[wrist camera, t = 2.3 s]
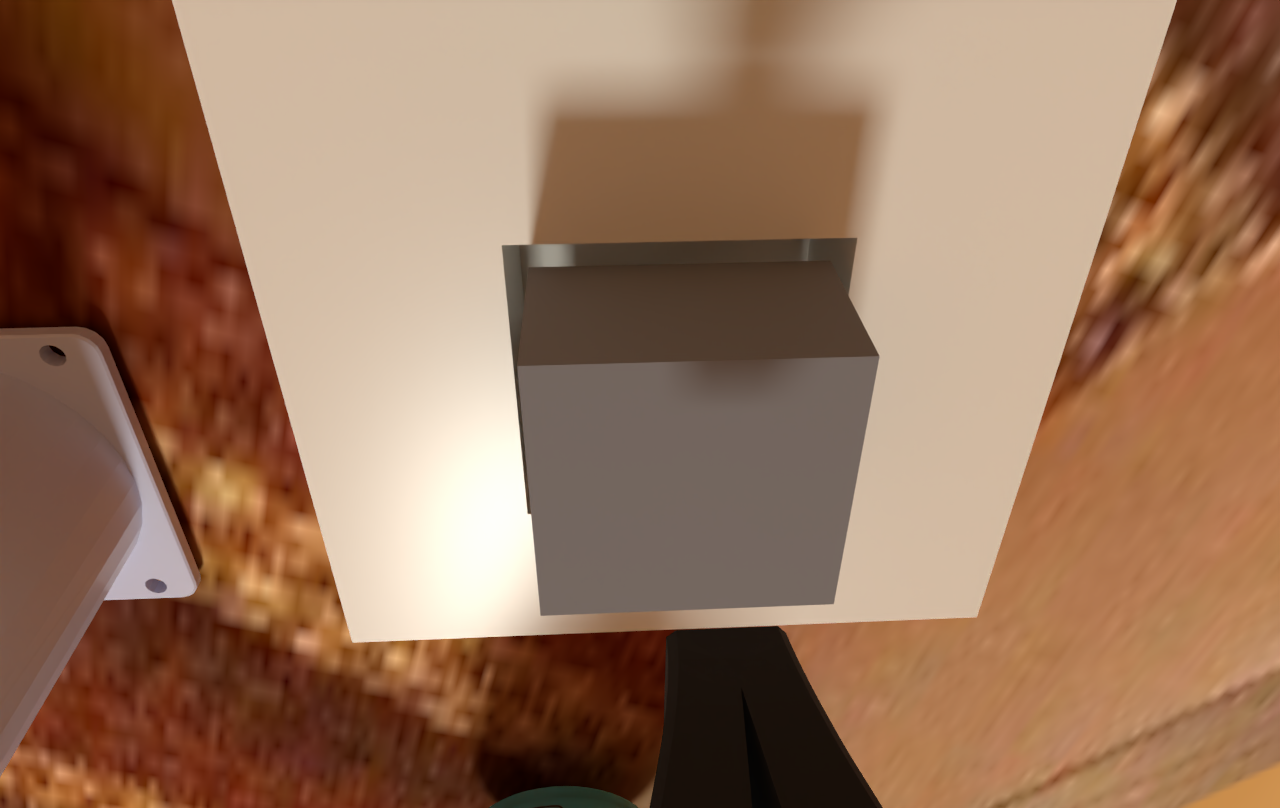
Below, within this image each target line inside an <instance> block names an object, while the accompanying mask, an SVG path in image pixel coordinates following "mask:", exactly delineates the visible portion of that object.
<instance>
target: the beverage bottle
mask: <svg viewBox="0 0 1280 808" xmlns="http://www.w3.org/2000/svg"><path fill="white" fill-rule="evenodd" d="M489 808H638V807H637V806H636V805H634V804H633V803H631V802H630V801H628V800H626V799H624V798H622V797H621V796H618V795H615V794H613V793H610V792H606V791H603V790H599V789H593V788H587V787H579V786H554V787H545V788H538V789H533V790H528V791H525V792H521V793H518V794H515V795H512V796H509V797H507V798H505V799H503V800H501V801H499V802H497V803H495V804H494V805H492V806H491V807H489Z"/></svg>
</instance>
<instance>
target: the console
mask: <svg viewBox="0 0 1280 808" xmlns="http://www.w3.org/2000/svg"><path fill="white" fill-rule="evenodd" d="M1176 1H1177V0H172V2H173V6H174V9H175V13H176V16H177V20H178V23H179V27H180V31H181V34H182V38H183V41H184V45H185V48H186V52H187V55H188V59H189V63H190V66H191V70H192V73H193V77H194V80H195V84H196V88H197V91H198V95H199V98H200V102H201V105H202V109H203V112H204V116H205V120H206V123H207V127H208V130H209V134H210V137H211V141H212V144H213V148H214V152H215V155H216V159H217V162H218V166H219V169H220V173H221V177H222V180H223V184H224V187H225V191H226V194H227V198H228V201H229V205H230V209H231V212H232V216H233V219H234V223H235V226H236V230H237V233H238V237H239V241H240V244H241V248H242V251H243V255H244V258H245V262H246V266H247V269H248V273H249V276H250V280H251V283H252V287H253V290H254V294H255V298H256V301H257V305H258V308H259V312H260V315H261V319H262V322H263V326H264V330H265V333H266V337H267V340H268V344H269V347H270V351H271V355H272V358H273V362H274V365H275V369H276V372H277V376H278V379H279V383H280V387H281V390H282V394H283V397H284V401H285V404H286V408H287V411H288V415H289V419H290V422H291V426H292V429H293V433H294V436H295V440H296V444H297V447H298V451H299V454H300V458H301V461H302V465H303V468H304V472H305V476H306V479H307V483H308V486H309V490H310V493H311V497H312V500H313V504H314V508H315V511H316V515H317V518H318V522H319V525H320V529H321V533H322V536H323V540H324V543H325V547H326V550H327V554H328V557H329V561H330V565H331V568H332V572H333V575H334V579H335V582H336V586H337V589H338V593H339V597H340V600H341V604H342V607H343V611H344V614H345V618H346V622H347V625H348V629H349V632H350V636H351V639H352V643H353V642H377V641H402V640H427V639H451V638H476V637H501V636H525V635H550V634H574V633H599V632H624V631H648V630H673V629H697V628H722V627H747V626H771V625H796V624H821V623H845V622H870V621H894V620H919V619H944V618H968V617H977V615H978V612H979V609H980V606H981V603H982V600H983V597H984V593H985V590H986V587H987V584H988V581H989V578H990V575H991V572H992V569H993V566H994V563H995V560H996V556H997V553H998V550H999V547H1000V544H1001V541H1002V538H1003V535H1004V532H1005V529H1006V526H1007V523H1008V519H1009V516H1010V513H1011V510H1012V507H1013V504H1014V501H1015V498H1016V495H1017V492H1018V489H1019V486H1020V482H1021V479H1022V476H1023V473H1024V470H1025V467H1026V464H1027V461H1028V458H1029V455H1030V452H1031V449H1032V445H1033V442H1034V439H1035V436H1036V433H1037V430H1038V427H1039V424H1040V421H1041V418H1042V415H1043V412H1044V408H1045V405H1046V402H1047V399H1048V396H1049V393H1050V390H1051V387H1052V384H1053V381H1054V378H1055V375H1056V371H1057V368H1058V365H1059V362H1060V359H1061V356H1062V353H1063V350H1064V347H1065V344H1066V341H1067V338H1068V334H1069V331H1070V328H1071V325H1072V322H1073V319H1074V316H1075V313H1076V310H1077V307H1078V304H1079V301H1080V297H1081V294H1082V291H1083V288H1084V285H1085V282H1086V279H1087V276H1088V273H1089V270H1090V267H1091V264H1092V260H1093V257H1094V254H1095V251H1096V248H1097V245H1098V242H1099V239H1100V236H1101V233H1102V230H1103V227H1104V223H1105V220H1106V217H1107V214H1108V211H1109V208H1110V205H1111V202H1112V199H1113V196H1114V193H1115V190H1116V186H1117V183H1118V180H1119V177H1120V174H1121V171H1122V168H1123V165H1124V162H1125V159H1126V156H1127V153H1128V149H1129V146H1130V143H1131V140H1132V137H1133V134H1134V131H1135V128H1136V125H1137V122H1138V119H1139V116H1140V112H1141V109H1142V106H1143V103H1144V100H1145V97H1146V94H1147V91H1148V88H1149V85H1150V82H1151V79H1152V75H1153V72H1154V69H1155V66H1156V63H1157V60H1158V57H1159V54H1160V51H1161V48H1162V45H1163V42H1164V38H1165V35H1166V32H1167V29H1168V26H1169V23H1170V20H1171V17H1172V14H1173V11H1174V8H1175V5H1176ZM829 260H830V261H831V263H832V265H833V267H834V269H835V271H836V273H837V275H838V276H839V278H840V280H841V282H842V284H843V286H844V288H845V290H846V292H847V294H848V296H849V298H850V300H851V302H852V304H853V306H854V307H855V309H856V311H857V313H858V315H859V317H860V319H861V321H862V323H863V325H864V327H865V329H866V331H867V333H868V335H869V337H870V339H871V340H872V342H873V344H874V346H875V348H876V350H877V352H878V354H879V356H880V357H879V362H878V368H877V373H876V379H875V384H874V389H873V395H872V400H871V406H870V411H869V416H868V422H867V427H866V433H865V438H864V443H863V449H862V454H861V460H860V465H859V471H858V476H857V481H856V487H855V492H854V498H853V503H852V508H851V514H850V519H849V525H848V530H847V535H846V541H845V546H844V552H843V557H842V562H841V568H840V573H839V579H838V584H837V589H836V595H835V600H834V604H826V605H801V606H776V607H751V608H726V609H700V610H675V611H650V612H625V613H600V614H574V615H549V616H541V615H540V604H539V594H538V583H537V572H536V561H535V551H534V540H533V529H532V519H531V508H530V497H529V487H528V476H527V465H526V455H525V444H524V433H523V423H522V412H521V401H520V391H519V380H518V369H517V364H518V355H519V346H520V337H521V328H522V319H523V310H524V301H525V293H526V284H527V275H528V267H563V266H607V265H652V264H696V263H740V262H785V261H829Z"/></svg>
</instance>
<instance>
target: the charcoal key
mask: <svg viewBox="0 0 1280 808" xmlns="http://www.w3.org/2000/svg"><path fill="white" fill-rule="evenodd" d="M879 357H880V356H879V354H878V352H877V350H876V348H875V346H874V344H873V342H872V340H871V339H870V337H869V335H868V333H867V331H866V329H865V327H864V325H863V323H862V321H861V319H860V317H859V315H858V313H857V311H856V309H855V307H854V306H853V304H852V302H851V300H850V298H849V296H848V294H847V292H846V290H845V288H844V286H843V284H842V282H841V280H840V278H839V276H838V275H837V273H836V271H835V269H834V267H833V265H832V263H831V261H830V260H829V261H785V262H740V263H696V264H652V265H607V266H563V267H528V275H527V284H526V293H525V301H524V310H523V319H522V328H521V337H520V346H519V355H518V364H517V369H518V380H519V391H520V401H521V412H522V423H523V433H524V444H525V455H526V465H527V476H528V487H529V497H530V508H531V519H532V529H533V540H534V551H535V561H536V572H537V583H538V594H539V604H540V615H541V616H549V615H574V614H600V613H625V612H650V611H675V610H700V609H726V608H751V607H776V606H801V605H826V604H834V600H835V595H836V589H837V584H838V579H839V573H840V568H841V562H842V557H843V552H844V546H845V541H846V535H847V530H848V525H849V519H850V514H851V508H852V503H853V498H854V492H855V487H856V481H857V476H858V471H859V465H860V460H861V454H862V449H863V443H864V438H865V433H866V427H867V422H868V416H869V411H870V406H871V400H872V395H873V389H874V384H875V379H876V373H877V368H878V362H879Z"/></svg>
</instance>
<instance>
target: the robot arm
mask: <svg viewBox="0 0 1280 808" xmlns="http://www.w3.org/2000/svg"><path fill="white" fill-rule="evenodd" d="M49 345H51V346H55V347H57V348H59V349H61V350H62V351H63V353H64V354H65V355H66V356H60V355H58V354H56V353H54V352H53V351H52V350H51V348H50V347H49ZM156 579H159V580H161V581H158V580H156ZM200 581H201V576H200V573H199V570H198V568H197V565H196V563H195V560H194V558H193V555H192V553H191V550H190V548H189V545H188V543H187V540H186V538H185V535H184V533H183V530H182V528H181V525H180V523H179V520H178V518H177V516H176V513H175V511H174V508H173V506H172V503H171V501H170V498H169V496H168V493H167V491H166V488H165V486H164V483H163V481H162V478H161V476H160V473H159V471H158V468H157V466H156V463H155V461H154V458H153V456H152V454H151V451H150V449H149V446H148V444H147V441H146V439H145V436H144V434H143V431H142V429H141V426H140V424H139V421H138V419H137V416H136V414H135V411H134V409H133V406H132V404H131V401H130V399H129V397H128V394H127V392H126V389H125V387H124V384H123V382H122V379H121V377H120V374H119V372H118V369H117V367H116V364H115V362H114V359H113V357H112V354H111V352H110V349H109V347H108V345H107V344H106V342H105V340H104V339H103V338H102V337H101V336H100V335H98V334H97V333H96V332H94V331H92V330H89V329H87V328H83V327H40V328H0V776H1V775H2V773H3V771H4V770H5V768H6V766H7V764H8V763H9V761H10V759H11V758H12V756H13V754H14V753H15V751H16V749H17V747H18V746H19V744H20V742H21V741H22V739H23V737H24V735H25V734H26V732H27V730H28V729H29V727H30V725H31V723H32V722H33V720H34V718H35V717H36V715H37V713H38V712H39V710H40V708H41V706H42V705H43V703H44V701H45V700H46V698H47V696H48V694H49V693H50V691H51V689H52V688H53V686H54V684H55V682H56V681H57V679H58V677H59V676H60V674H61V672H62V671H63V669H64V667H65V665H66V664H67V662H68V660H69V659H70V657H71V655H72V653H73V652H74V650H75V648H76V647H77V645H78V643H79V641H80V640H81V638H82V636H83V635H84V633H85V631H86V630H87V628H88V626H89V624H90V623H91V621H92V619H93V618H94V616H95V614H96V612H97V611H98V609H99V607H100V606H101V604H102V602H103V600H121V599H147V598H173V597H185V596H190V595H191V594H193V593H194V592H195V591H196V589H197V587H198V585H199V583H200ZM650 808H883V807H882V806H881V804H880V803H879V801H878V799H877V798H876V796H875V795H874V793H873V791H872V790H871V788H870V787H869V785H868V783H867V782H866V780H865V779H864V777H863V775H862V774H861V772H860V771H859V769H858V767H857V766H856V764H855V763H854V761H853V759H852V758H851V756H850V754H849V753H848V751H847V749H846V748H845V746H844V744H843V742H842V741H841V739H840V737H839V736H838V734H837V732H836V730H835V729H834V727H833V725H832V723H831V721H830V720H829V718H828V716H827V714H826V712H825V711H824V709H823V707H822V705H821V704H820V702H819V700H818V698H817V696H816V694H815V692H814V690H813V689H812V687H811V685H810V683H809V681H808V679H807V677H806V675H805V673H804V671H803V669H802V667H801V665H800V663H799V661H798V659H797V657H796V655H795V652H794V650H793V648H792V646H791V644H790V642H789V639H788V637H787V635H786V633H785V632H784V631H783V630H782V629H780V628H779V627H778V626H771V627H747V628H722V629H697V630H676V631H674V632H673V633H672V634H670V635H669V636H667V637H666V665H665V702H664V728H663V736H662V743H661V749H660V754H659V760H658V765H657V771H656V776H655V782H654V787H653V793H652V798H651V804H650Z"/></svg>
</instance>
